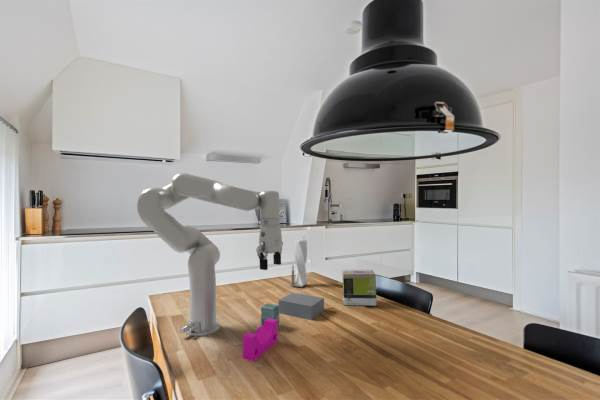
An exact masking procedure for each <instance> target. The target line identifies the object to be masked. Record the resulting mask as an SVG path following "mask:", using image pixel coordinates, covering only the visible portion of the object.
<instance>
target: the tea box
mask: <svg viewBox="0 0 600 400" xmlns="http://www.w3.org/2000/svg"><path fill="white" fill-rule="evenodd" d="M341 272H342V299H343V306H372V307H373V306H377V279H376V278H377V275H376V273H375V272H374V270H373V269H342V271H341Z"/></svg>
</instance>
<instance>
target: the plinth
mask: <svg viewBox="0 0 600 400" xmlns="http://www.w3.org/2000/svg"><path fill="white" fill-rule="evenodd" d="M278 305H279V315H280V314H282V315H286V316H289V317H290V316H291V317H295V318H300V319H303V320H307V321H308V320H309V321H312V320H314V319H315V318H317V317H318V316H319V315H321V314H322V313H323V312H325V298H324V297H321V296H314V295H309V294H305V293H304V294H303V293H298V292H291V293H290V294H288V295H286V296H284V297H281V298H280V299H278Z"/></svg>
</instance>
